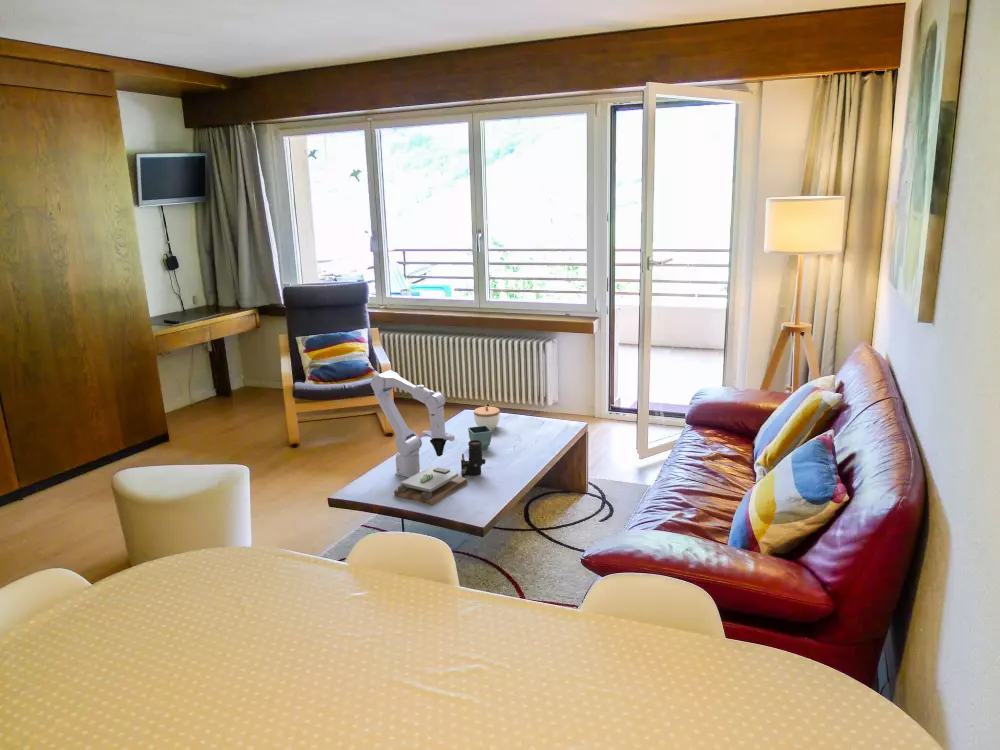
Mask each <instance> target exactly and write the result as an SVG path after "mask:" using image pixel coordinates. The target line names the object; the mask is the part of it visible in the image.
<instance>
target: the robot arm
mask: <svg viewBox="0 0 1000 750" xmlns="http://www.w3.org/2000/svg"><path fill="white" fill-rule="evenodd" d="M370 386H371V388H372V390H373V393H374V398H375V399H376V401H377V404H379V406H380V408H381V410H382V412H383V413H384V415H385V417H386V419H387V421H388V423H389V424H390V426H391V428H392V430H393V431H394V433H395V435H396V437H395V440H394V443H395V445H396V450H397V454H396V456H395V467H396V468H395V469H396V472H395V475H397V476H402V477H405V478H410V477H412V476H414V475H416V474H417V473H419V472H421V471H423V470H424V469H421V466H420V465H421V464H420V448H422V445H423V441H422V439H421V437H419V435H418V434H417V433H416V432H415V430H414V429H413V430H412V429H410V428H409V427H408V425H407V424H406V421H405V420H404V418H403V417H402V415H401V413H400V411H399V409H398V407H397V406H396V404H395V402H394V400H393V398H392V397H391V393H392V390H393V388H397V389H400V390H402V391H404V392H407V393H409V394H411V397H412V398H413V399H414V400H417V401H419V402H421V403H423V404H424V405H425V406H426V408H427V410H428V411H427V412H428V414H429V426H430V430H423V431H422V433H421V434H422V437H425V438H426V437H429V438H430V440H429V442H430V444H431V445H432V447H433V449H434V451H435V454H436V456H437V457H442V456H443V454H444V448H445V445H446V442H447V441H449V442H453V441H455V440H456V439H455V435H454V434H451V433H449V432H446V423H445V411H444V405H445V404H446V401H447V399H446V398H447V397H446V396H445V394H444V393H443V392H441V391H436V392H435V391H434V390H433V389H432V390H431V389H429V388H426V387H425V385H424V384H417V385H414V384H413V383H411V382H410V381H408V380H407V379H405V378H403V377H401V376H400V375H399V374H398V372H396V371H393V370H391V369H388V370H386V371H383V372H381V373H379V374H376V375H373V376H372V378H371V381H370Z"/></svg>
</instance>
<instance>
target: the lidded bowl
mask: <svg viewBox="0 0 1000 750" xmlns="http://www.w3.org/2000/svg"><path fill="white" fill-rule="evenodd" d="M500 413H501V410H500V408H499V407H496V406H488V405H485V406H481V407H476V408H475V409H474V410H473V416H474V421H475V424H476V427H477V426H487V427H488V428H489V429H490V430H491V431H492V430H495V428H496V427H497V426H498V424H499V423H500V416H501V415H500Z"/></svg>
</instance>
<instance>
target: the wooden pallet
mask: <svg viewBox="0 0 1000 750" xmlns="http://www.w3.org/2000/svg"><path fill="white" fill-rule="evenodd" d="M467 484H468V478H465V477H462V476H458V477H456V478H454V479H452V480H451V481H449V482H447V483H446V484H444V485H442V486H440V487H439V488H437V489H435V490H434V491H432V492H426V491H422V490H418V489H415V488H411V487H407V486H403V485H401V484H399V485H397V489H395V490H394V491H393V492H394V496H395V497H399V498H403V499H406V500H409V501H412V502H413V501H414V502H417V503H422V504H425V505H429V506H433V505H435V504H437V503H438V502H440V501H441V500H444V498H447V496H450V495H451V494H452V493H454V492H455V491H457V490H459V489H460V488H463V486H465V485H467Z"/></svg>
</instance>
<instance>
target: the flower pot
mask: <svg viewBox="0 0 1000 750" xmlns="http://www.w3.org/2000/svg"><path fill="white" fill-rule="evenodd" d="M467 431H468V437H469V441H472V440H479V441H481V442H482V445H481V447H482V450H488V449H489V446H490V445H491V441H492V432H493V431H492V430H490V429H489V428H488V427H487V426H477V425H476V426H471V427H468V428H467Z"/></svg>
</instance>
